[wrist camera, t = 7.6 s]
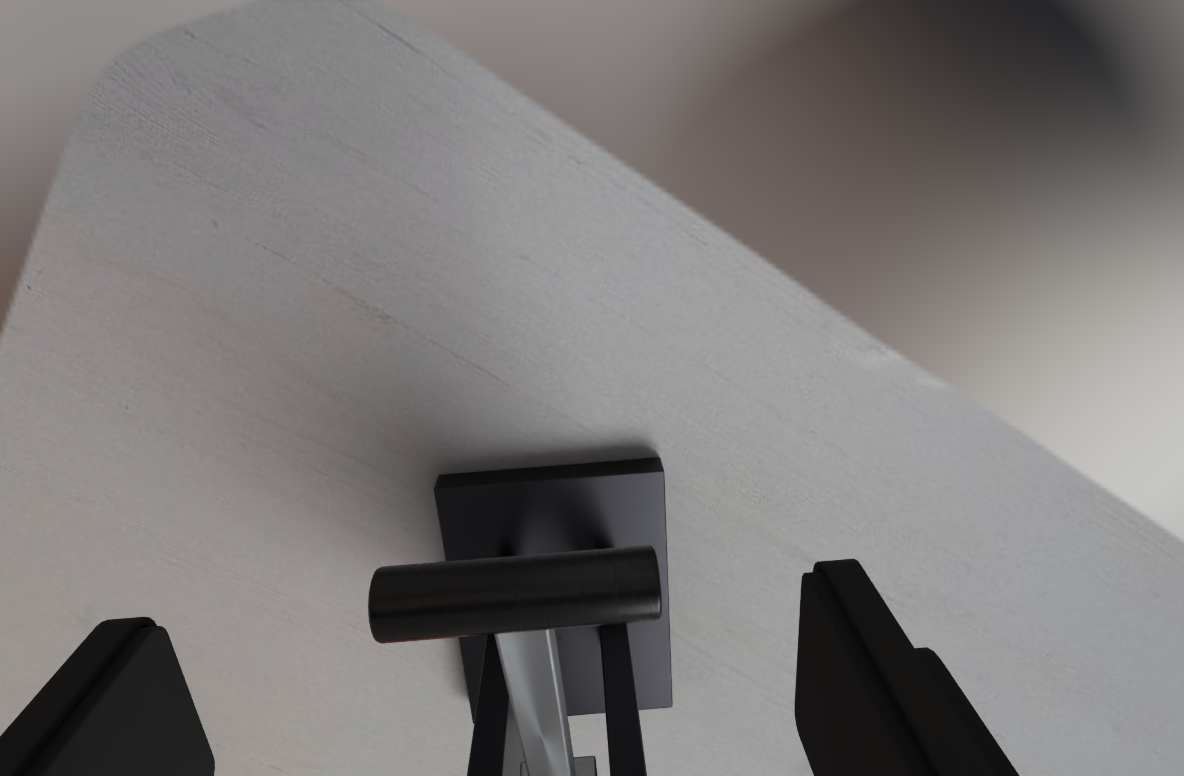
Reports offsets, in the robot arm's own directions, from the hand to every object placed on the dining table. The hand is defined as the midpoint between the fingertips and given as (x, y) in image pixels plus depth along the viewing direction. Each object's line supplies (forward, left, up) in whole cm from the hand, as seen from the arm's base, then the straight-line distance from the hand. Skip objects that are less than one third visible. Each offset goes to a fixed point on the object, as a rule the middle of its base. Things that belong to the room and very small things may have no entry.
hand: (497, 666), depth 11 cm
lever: (+6, +2, -6) cm, 9 cm away
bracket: (+11, +3, -18) cm, 21 cm away
